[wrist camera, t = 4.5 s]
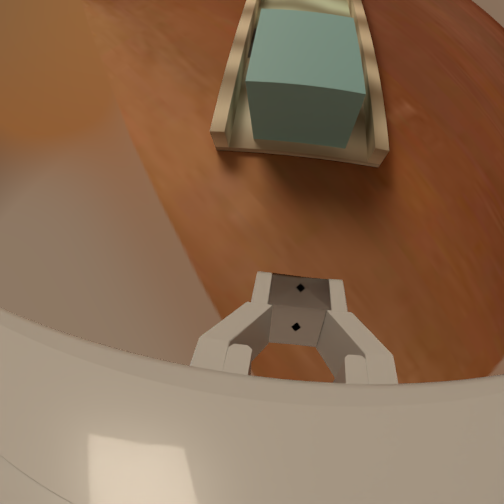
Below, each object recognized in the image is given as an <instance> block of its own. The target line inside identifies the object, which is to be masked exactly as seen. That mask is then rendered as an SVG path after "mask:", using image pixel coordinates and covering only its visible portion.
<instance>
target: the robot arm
mask: <svg viewBox="0 0 504 504" xmlns="http://www.w3.org/2000/svg"><path fill="white" fill-rule="evenodd" d="M268 342H272V343H284V344H296V345H304V346H313V347H316V348H317V350H318V352H319V353H320V355H321V356H322V358H323V360H324V361H325V363H326V364H327V366H328V367H329V369H330V371H331V372H332V374H333V375H334V377H335V380H334V382H333V383H326V382H310V381H297V380H286V379H276V378H267V377H259V376H251V362H252V361H253V359H254V358H255V357H256V356H257V355H258V354H259V353H260V352H261V351H262V350H263V349H264V348H265V347H266V345H267V344H268ZM0 504H504V374H502V375H495V376H489V377H481V378H473V379H464V380H454V381H442V382H428V383H405V384H398V380H397V375H396V369H395V364H394V359H393V355H392V354H391V353H390V352H389V351H388V350H387V349H386V348H385V347H384V345H383V344H382V343H381V342H380V341H379V340H378V339H377V338H376V337H375V336H374V335H373V334H372V333H371V332H370V331H369V330H368V329H367V328H366V327H365V326H364V325H363V324H362V323H361V321H360V320H359V319H358V318H357V317H356V316H355V315H354V314H353V313H352V312H348V311H347V304H346V297H345V290H344V284H343V281H342V280H337V279H320V278H309V277H301V276H293V275H285V274H277V273H273V274H272V273H268V272H260V271H258V273H257V276H256V280H255V285H254V290H253V295H252V300H251V302H246V303H245V304H243V305H242V306H241V307H239V308H238V309H237V310H235V311H234V312H233V313H231V314H230V315H229V316H227V317H226V318H225V319H223V320H222V321H221V322H219V323H218V324H217V325H215V326H214V327H213V328H211V329H210V330H208V331H207V332H206V333H204V334H203V335H202V336H200V337H199V340H198V343H197V346H196V349H195V352H194V354H193V358H192V360H191V363H190V366H189V365H184V364H179V363H174V362H170V361H165V360H161V359H156V358H152V357H148V356H144V355H139V354H136V353H131V352H128V351H124V350H120V349H117V348H113V347H110V346H106V345H103V344H99V343H96V342H92V341H89V340H86V339H83V338H80V337H77V336H74V335H70V334H68V333H65V332H62V331H59V330H56V329H53V328H50V327H48V326H45V325H42V324H39V323H37V322H34V321H32V320H29V319H27V318H24V317H22V316H19V315H17V314H15V313H12V312H10V311H8V310H6V309H3V308H1V307H0Z"/></svg>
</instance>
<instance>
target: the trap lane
mask: <svg viewBox="0 0 504 504" xmlns="http://www.w3.org/2000/svg"><path fill="white" fill-rule="evenodd" d="M261 9H284V10H298V11H309V12H318V13H326V14H333V15H339V16H345V17H351V18H354V23H355V28H356V33H357V38H358V43H359V49H360V55H361V61H362V68H363V75H364V82H365V90H366V95H365V98H364V101H363V104H362V106H361V109H360V112H359V114H358V117H357V120H356V122H355V125H354V127H353V130H352V133H351V135H350V138H349V140H348V143H347V145H346V148H345V149H344V148H337V147H330V146H323V145H315V144H306V143H297V142H287V141H276V140H264V139H253V132H252V125H251V118H250V111H249V104H248V97H247V90H246V83H245V80H246V75H247V70H248V66H249V61H250V56H251V52H252V47H253V43H254V38H255V34H256V29H257V25H258V21H259V16H260V12H261ZM210 133H211V136H212V139H213V142H214V144H215V147H216V150H223V151H242V152H257V153H269V154H281V155H291V156H300V157H309V158H318V159H325V160H333V161H340V162H347V163H354V164H360V165H366V166H372V167H379V166H380V164H381V163H382V161H383V160H384V158H385V157H386V155H387V153H388V152H389V142H388V132H387V124H386V116H385V108H384V101H383V95H382V89H381V83H380V77H379V72H378V67H377V62H376V57H375V52H374V48H373V43H372V39H371V35H370V31H369V27H368V23H367V19H366V16H365V12H364V9H363V5H362V2H361V0H246V3H245V6H244V9H243V12H242V15H241V19H240V22H239V25H238V28H237V31H236V35H235V38H234V41H233V45H232V48H231V52H230V55H229V59H228V62H227V66H226V69H225V73H224V77H223V80H222V84H221V88H220V92H219V96H218V100H217V103H216V107H215V112H214V116H213V120H212V124H211V128H210Z"/></svg>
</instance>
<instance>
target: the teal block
mask: <svg viewBox="0 0 504 504" xmlns="http://www.w3.org/2000/svg"><path fill="white" fill-rule="evenodd" d="M245 83H246V90H247V97H248V104H249V111H250V118H251V125H252V132H253V139H264V140H276V141H287V142H297V143H306V144H315V145H323V146H330V147H337V148H344V149H345V148H346V145H347V143H348V140H349V138H350V135H351V133H352V130H353V127H354V125H355V122H356V120H357V117H358V114H359V112H360V109H361V106H362V104H363V101H364V98H365V95H366V90H365V82H364V75H363V68H362V61H361V55H360V49H359V43H358V38H357V33H356V28H355V23H354V18H351V17H345V16H339V15H333V14H326V13H318V12H309V11H298V10H284V9H261V12H260V16H259V21H258V25H257V29H256V34H255V38H254V43H253V47H252V52H251V56H250V61H249V66H248V70H247V75H246V80H245Z"/></svg>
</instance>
